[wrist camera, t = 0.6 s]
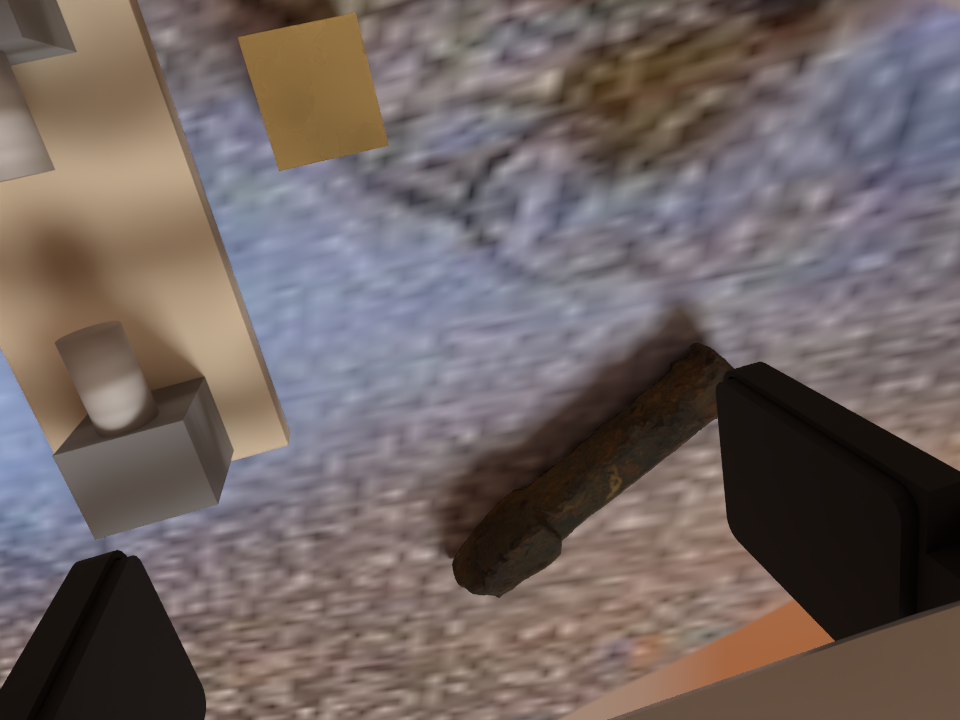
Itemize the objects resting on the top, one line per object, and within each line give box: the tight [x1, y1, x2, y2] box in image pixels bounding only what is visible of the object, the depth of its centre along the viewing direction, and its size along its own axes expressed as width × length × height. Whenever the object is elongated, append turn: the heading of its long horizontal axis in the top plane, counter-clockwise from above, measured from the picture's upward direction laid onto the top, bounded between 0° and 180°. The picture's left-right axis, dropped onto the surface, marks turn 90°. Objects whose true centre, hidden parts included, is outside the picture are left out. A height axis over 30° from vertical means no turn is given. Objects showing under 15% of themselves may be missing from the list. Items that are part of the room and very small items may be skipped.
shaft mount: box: [0, 0, 290, 540], centre depth 27 cm, size 23×10×6 cm, turn 12°
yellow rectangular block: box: [238, 13, 389, 171], centre depth 27 cm, size 4×4×7 cm
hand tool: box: [452, 343, 734, 598], centre depth 37 cm, size 19×4×5 cm, turn 125°
